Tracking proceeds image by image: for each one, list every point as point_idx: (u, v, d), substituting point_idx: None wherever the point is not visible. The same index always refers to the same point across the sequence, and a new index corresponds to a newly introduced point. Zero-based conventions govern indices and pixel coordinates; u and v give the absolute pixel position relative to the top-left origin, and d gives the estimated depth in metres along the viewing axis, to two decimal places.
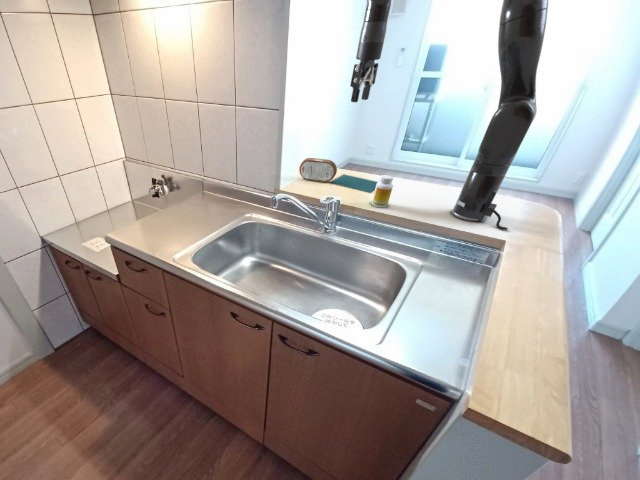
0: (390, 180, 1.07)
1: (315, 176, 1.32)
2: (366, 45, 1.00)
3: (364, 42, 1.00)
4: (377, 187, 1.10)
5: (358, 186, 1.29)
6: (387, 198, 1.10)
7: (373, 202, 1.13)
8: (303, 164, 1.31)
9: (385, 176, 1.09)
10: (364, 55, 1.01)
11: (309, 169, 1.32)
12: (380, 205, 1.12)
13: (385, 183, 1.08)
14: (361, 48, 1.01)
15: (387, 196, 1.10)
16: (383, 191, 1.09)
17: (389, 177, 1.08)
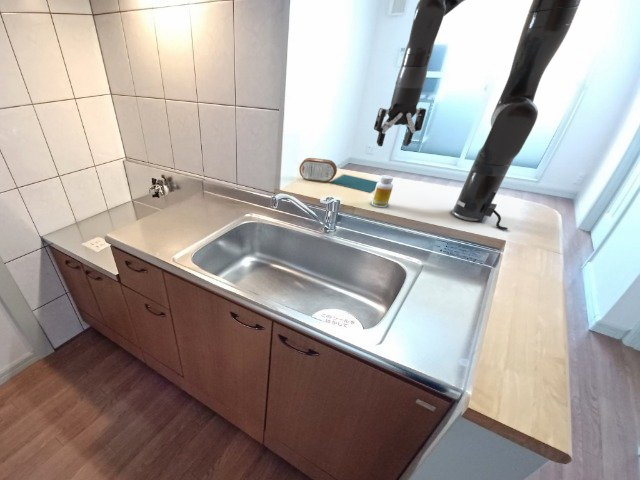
0: (390, 180, 1.07)
1: (315, 176, 1.32)
2: (396, 90, 0.94)
3: (395, 86, 0.94)
4: (377, 187, 1.10)
5: (358, 186, 1.29)
6: (387, 198, 1.10)
7: (373, 202, 1.13)
8: (303, 164, 1.31)
9: (385, 176, 1.09)
10: (393, 100, 0.95)
11: (309, 169, 1.32)
12: (380, 205, 1.12)
13: (385, 183, 1.08)
14: None
15: (387, 196, 1.10)
16: (383, 191, 1.09)
17: (389, 177, 1.08)
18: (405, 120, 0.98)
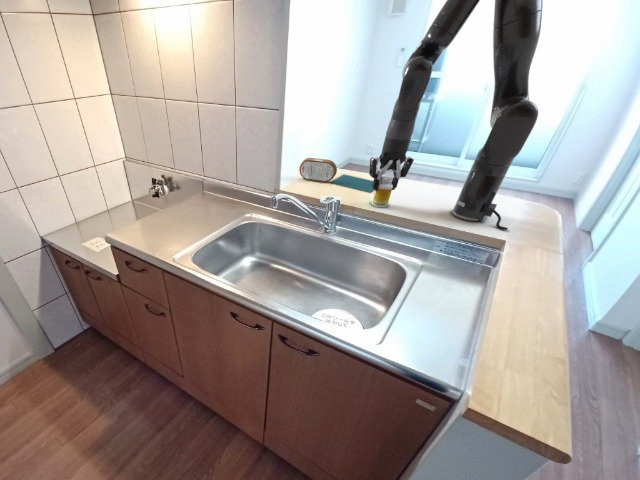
0: (390, 180, 1.07)
1: (315, 176, 1.32)
2: (386, 140, 1.01)
3: (386, 136, 1.01)
4: None
5: (358, 186, 1.29)
6: (387, 198, 1.10)
7: (373, 202, 1.13)
8: (303, 164, 1.31)
9: (385, 176, 1.09)
10: (384, 148, 1.02)
11: (309, 169, 1.32)
12: (380, 205, 1.12)
13: (385, 183, 1.08)
14: (384, 141, 1.02)
15: (387, 196, 1.10)
16: (383, 191, 1.09)
17: (389, 177, 1.08)
18: (395, 166, 1.05)
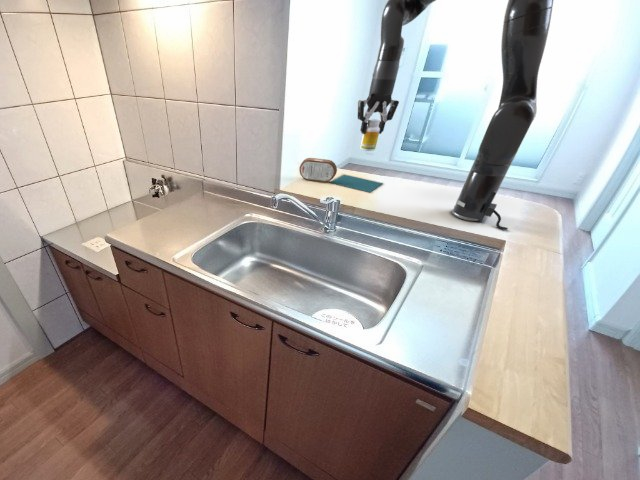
0: (377, 123, 1.14)
1: (315, 176, 1.32)
2: (372, 81, 1.07)
3: (372, 78, 1.07)
4: None
5: (358, 186, 1.29)
6: (374, 141, 1.17)
7: (361, 146, 1.19)
8: (303, 164, 1.31)
9: (372, 119, 1.15)
10: (370, 90, 1.09)
11: (309, 169, 1.32)
12: (368, 148, 1.18)
13: (372, 126, 1.14)
14: (371, 83, 1.09)
15: (374, 139, 1.16)
16: (370, 134, 1.15)
17: (376, 120, 1.14)
18: (382, 108, 1.12)
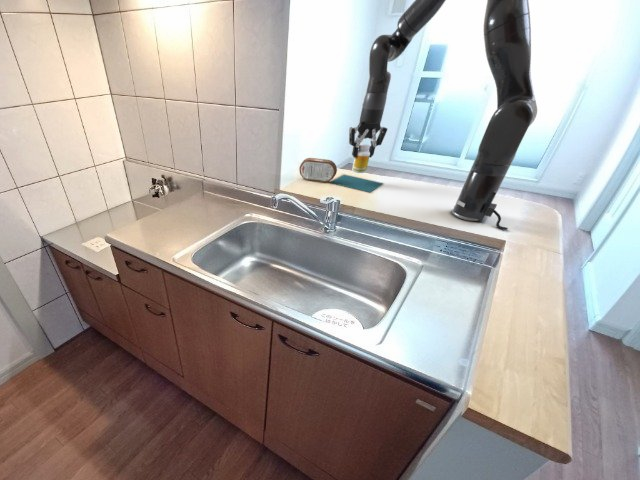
0: (367, 148, 1.22)
1: (315, 176, 1.32)
2: (362, 110, 1.15)
3: (362, 108, 1.16)
4: None
5: (358, 186, 1.29)
6: (365, 164, 1.25)
7: (353, 169, 1.28)
8: (303, 164, 1.31)
9: (363, 144, 1.23)
10: (361, 118, 1.17)
11: (309, 169, 1.32)
12: (359, 171, 1.26)
13: (363, 150, 1.23)
14: (361, 112, 1.17)
15: (365, 162, 1.25)
16: (361, 158, 1.24)
17: (366, 145, 1.22)
18: (371, 134, 1.20)
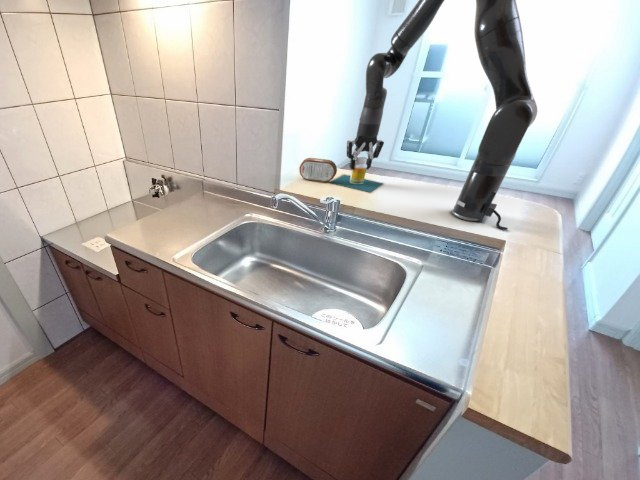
0: (364, 160, 1.25)
1: (315, 176, 1.32)
2: (359, 125, 1.18)
3: (359, 122, 1.18)
4: (354, 167, 1.27)
5: (358, 186, 1.29)
6: (362, 176, 1.28)
7: (351, 180, 1.31)
8: (303, 164, 1.31)
9: (360, 157, 1.26)
10: (358, 132, 1.20)
11: (309, 169, 1.32)
12: (356, 182, 1.29)
13: (360, 163, 1.25)
14: (358, 126, 1.20)
15: (362, 174, 1.27)
16: (358, 170, 1.26)
17: (363, 158, 1.25)
18: (368, 148, 1.23)
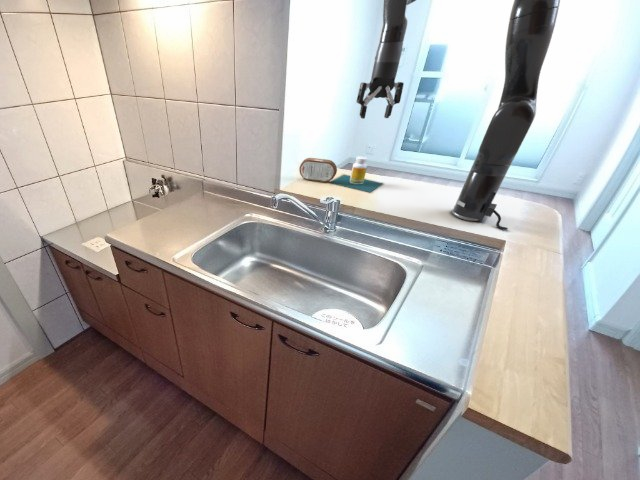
0: (364, 160, 1.25)
1: (315, 176, 1.32)
2: (375, 65, 1.03)
3: (374, 62, 1.03)
4: (354, 167, 1.27)
5: (358, 186, 1.29)
6: (362, 176, 1.28)
7: (351, 180, 1.31)
8: (303, 164, 1.31)
9: (360, 157, 1.26)
10: (373, 74, 1.05)
11: (309, 169, 1.32)
12: (356, 182, 1.29)
13: (360, 163, 1.25)
14: (373, 67, 1.05)
15: (362, 174, 1.27)
16: (358, 170, 1.26)
17: (363, 158, 1.25)
18: (384, 93, 1.07)
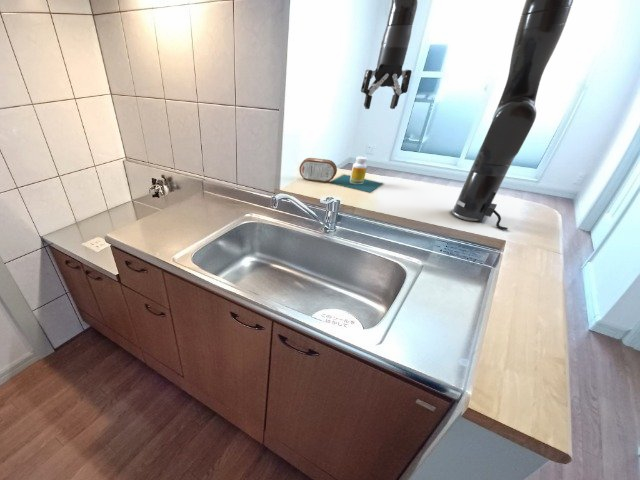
0: (364, 160, 1.25)
1: (315, 176, 1.32)
2: (381, 50, 0.96)
3: (381, 47, 0.96)
4: (354, 167, 1.27)
5: (358, 186, 1.29)
6: (362, 176, 1.28)
7: (351, 180, 1.31)
8: (303, 164, 1.31)
9: (360, 157, 1.26)
10: (379, 61, 0.97)
11: (309, 169, 1.32)
12: (356, 182, 1.29)
13: (360, 163, 1.25)
14: None
15: (362, 174, 1.27)
16: (358, 170, 1.26)
17: (363, 158, 1.25)
18: (391, 82, 1.00)
